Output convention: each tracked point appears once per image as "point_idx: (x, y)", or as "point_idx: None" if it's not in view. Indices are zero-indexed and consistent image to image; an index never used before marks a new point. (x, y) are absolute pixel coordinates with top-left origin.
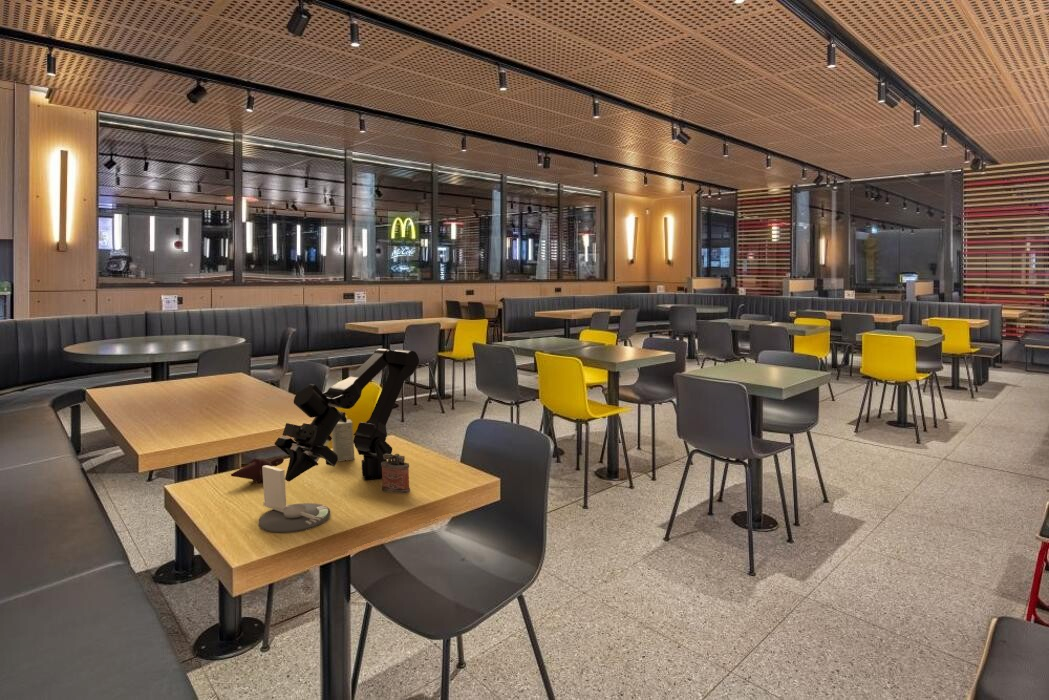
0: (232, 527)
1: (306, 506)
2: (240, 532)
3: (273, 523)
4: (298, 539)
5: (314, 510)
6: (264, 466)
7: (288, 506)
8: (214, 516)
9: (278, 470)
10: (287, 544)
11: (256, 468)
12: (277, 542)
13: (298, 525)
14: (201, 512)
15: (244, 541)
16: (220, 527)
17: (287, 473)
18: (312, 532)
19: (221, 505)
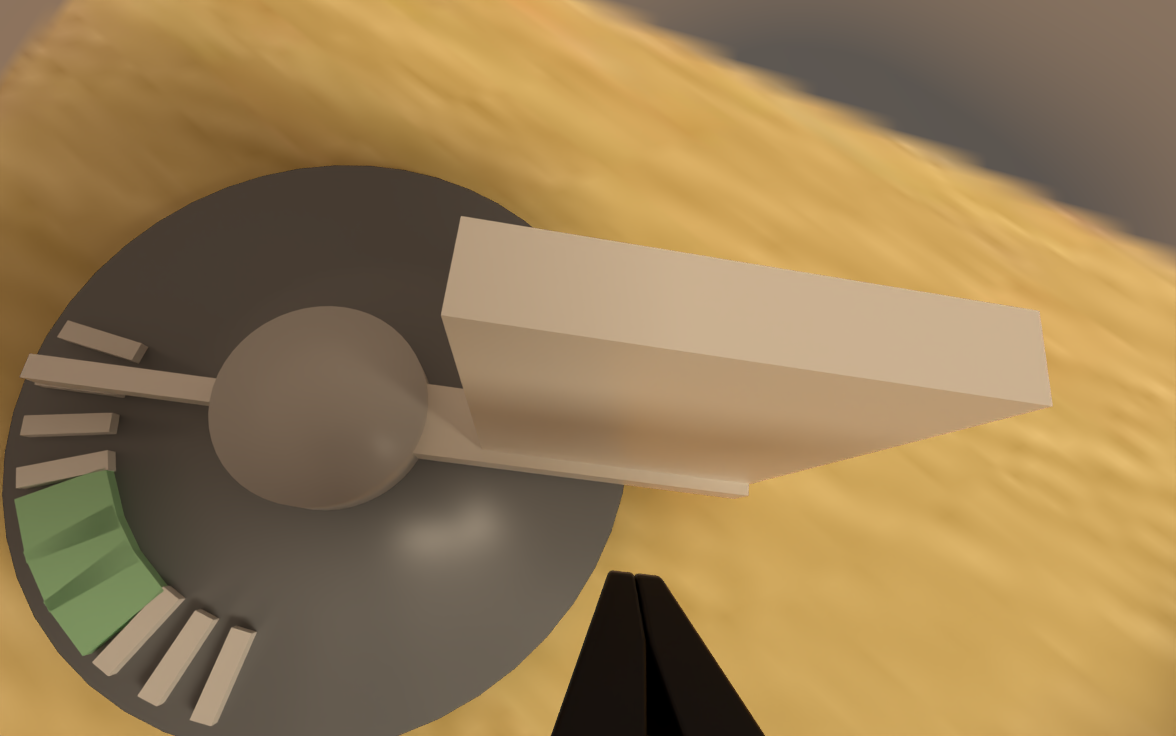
0: (655, 155)
1: (397, 634)
2: (541, 120)
3: (395, 238)
4: (57, 161)
5: (244, 591)
6: (1001, 326)
7: (417, 413)
8: (916, 236)
9: (528, 240)
10: (88, 85)
11: None
12: (182, 87)
13: (163, 277)
14: (1046, 251)
15: (407, 42)
16: (721, 133)
17: (673, 641)
18: (19, 282)
19: (1071, 387)
